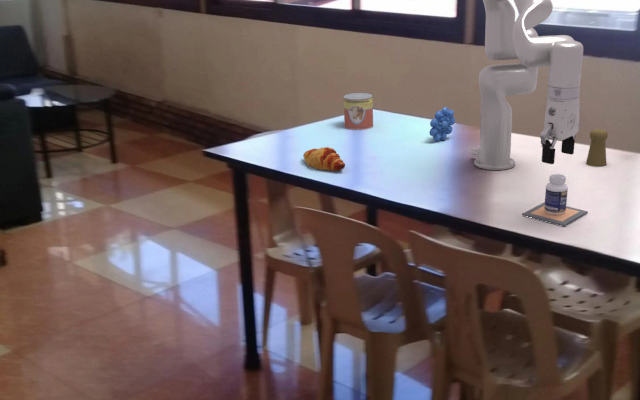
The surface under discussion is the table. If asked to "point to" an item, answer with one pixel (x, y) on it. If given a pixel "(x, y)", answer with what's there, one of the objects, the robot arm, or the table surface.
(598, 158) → the cork
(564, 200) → the pill bottle
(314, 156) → the croissant
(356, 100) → the canned food
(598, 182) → the table surface
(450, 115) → the grapes
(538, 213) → the coaster
